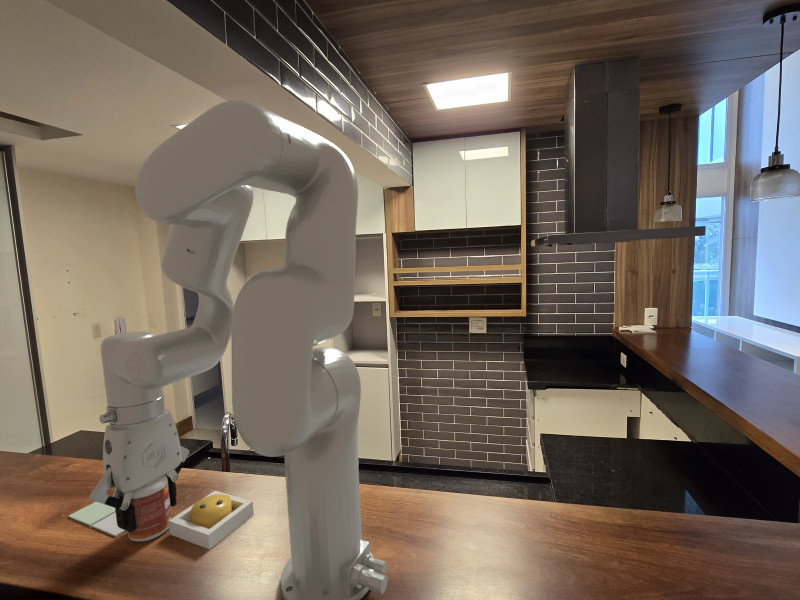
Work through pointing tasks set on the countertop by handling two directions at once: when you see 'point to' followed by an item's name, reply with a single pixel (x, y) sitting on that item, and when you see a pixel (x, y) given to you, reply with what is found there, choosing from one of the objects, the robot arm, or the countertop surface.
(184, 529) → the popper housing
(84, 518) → the pale green square tile
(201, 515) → the dome
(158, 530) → the pill bottle
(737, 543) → the countertop surface
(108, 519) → the grey square tile
